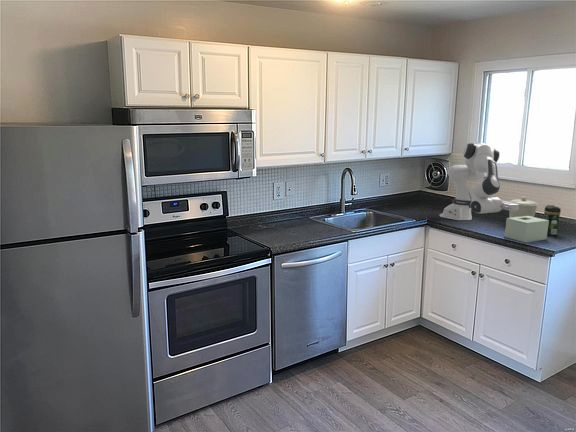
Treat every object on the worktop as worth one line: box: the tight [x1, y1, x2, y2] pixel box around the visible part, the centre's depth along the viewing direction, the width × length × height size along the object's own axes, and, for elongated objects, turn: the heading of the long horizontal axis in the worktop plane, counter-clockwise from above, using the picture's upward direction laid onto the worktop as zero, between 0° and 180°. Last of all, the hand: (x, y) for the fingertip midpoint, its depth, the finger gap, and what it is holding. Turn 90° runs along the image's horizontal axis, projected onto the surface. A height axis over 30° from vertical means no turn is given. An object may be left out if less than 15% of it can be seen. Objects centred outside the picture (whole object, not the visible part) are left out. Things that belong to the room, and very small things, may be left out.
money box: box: [503, 216, 549, 243], centre depth 284 cm, size 20×14×12 cm
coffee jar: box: [543, 204, 562, 236], centre depth 296 cm, size 10×8×19 cm
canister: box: [508, 195, 539, 218], centre depth 315 cm, size 18×18×21 cm
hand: (510, 203), depth 281 cm, fingers open, 8 cm apart
